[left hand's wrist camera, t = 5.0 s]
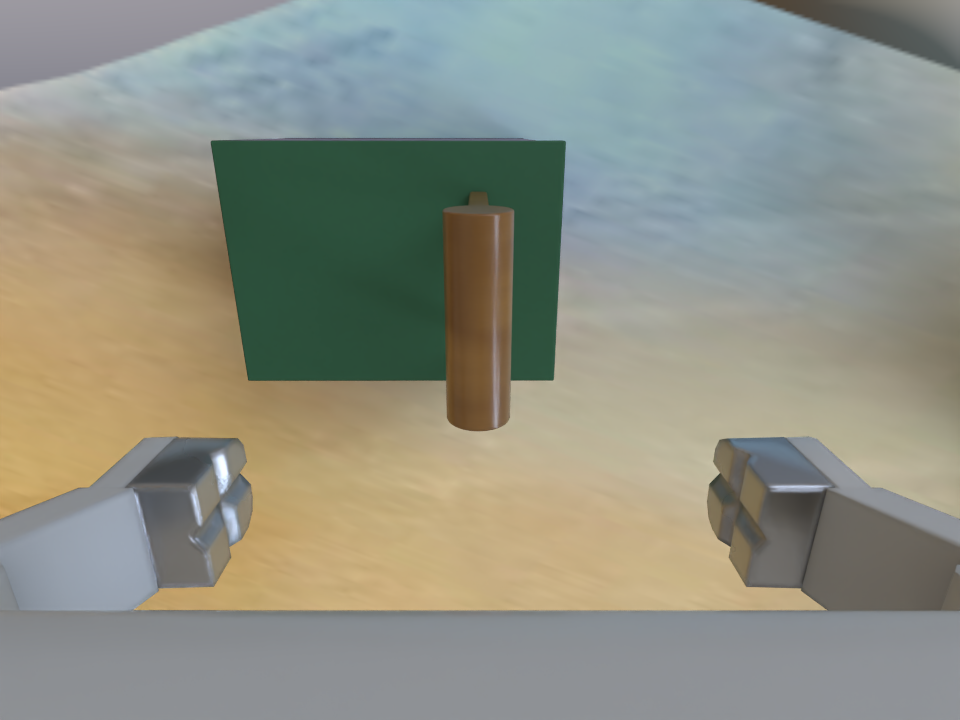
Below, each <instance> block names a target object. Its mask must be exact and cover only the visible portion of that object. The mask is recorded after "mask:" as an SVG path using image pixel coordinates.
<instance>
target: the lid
mask: <svg viewBox="0 0 960 720" xmlns="http://www.w3.org/2000/svg"><path fill="white" fill-rule="evenodd" d="M211 147H212V153H213V160H214V166H215V172H216V179H217V185H218V191H219V198H220V204H221V210H222V217H223V223H224V229H225V236H226V242H227V248H228V255H229V261H230V267H231V274H232V280H233V287H234V293H235V299H236V306H237V312H238V318H239V325H240V331H241V337H242V344H243V350H244V356H245V363H246V369H247V375H248V380H249V381H388V380H446V395H447V419H448V421H449V422H450V423H451V424H452V425H454V426H455V427H458V428H460V429H464V430H469V431H488V430H493V429H496V428H499V427H501V426H503V425H505V424H506V423H507V422H508V420H509V418H510V387H511V380H554V364H555V344H556V325H557V305H558V285H559V266H560V246H561V227H562V207H563V187H564V168H565V148H566V142H565V141H324V140H219V141H211Z"/></svg>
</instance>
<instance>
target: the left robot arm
mask: <svg viewBox="0 0 960 720" xmlns="http://www.w3.org/2000/svg"><path fill="white" fill-rule="evenodd" d="M246 462H247V460H246V455H245V450H244V445H243V444H242V443H241V441H240V440H239V439H238V438H188V437H181V438H179V437H152V438H144V439H143V440H142V441H141V442H139V443H138V444H137V445H136V446H135V447H134V448H133V449H132V450H131V451H129V452H128V453H127V454H126V455H125V456H124V457H123V458H122V459H120V460H119V461H118V462H117V463H116V464H115V465H114V466H113V467H111V468H110V469H109V470H108V471H107V472H106V473H105V474H104V475H103V476H101V477H100V478H99V479H98V480H97V481H96V482H95V483H94V484H92V485H91V486H90V487H89V488H77V489H75V490H72V491H70V492H67V493H65V494H62V495H60V496H57V497H55V498H52V499H50V500H47V501H45V502H42V503H40V504H37V505H35V506H32V507H30V508H27V509H24V510H22V511H19V512H17V513H14V514H12V515H9V516H7V517H4V518H2V519H0V720H960V519H958V518H955V517H953V516H950V515H948V514H945V513H943V512H940V511H938V510H935V509H933V508H930V507H928V506H925V505H923V504H920V503H918V502H915V501H913V500H910V499H908V498H905V497H903V496H900V495H898V494H895V493H893V492H890V491H888V490H885V489H883V488H871V487H870V486H869V485H868V484H866V483H865V482H864V481H863V480H862V479H861V478H860V477H859V476H858V475H856V474H855V473H854V472H853V471H852V470H851V469H850V468H849V467H847V466H846V465H845V464H844V463H843V462H842V461H841V460H840V459H839V458H837V457H836V456H835V455H834V454H833V453H832V452H831V451H830V450H829V449H827V448H826V447H825V446H824V445H823V444H822V443H821V442H820V441H818V440H817V439H815V438H812V437H788V438H784V437H772V438H730V439H722V440H719V442H718V444H717V446H716V449H715V454H714V460H713V462H714V464H715V466H716V467H717V469H718V470H719V472H720V474H719V475H718V476H717V477H716V478H715V479H714V480H713V481H712V482H711V483H710V484H709V490H708V498H707V506H708V517H709V520H710V523H711V527H712V529H713V531H714V533H715V535H716V536H717V538H718V539H719V540H720V541H722V542H724V543H725V544H727V545H728V546H730V547H731V548H730V553H729V559H730V560H731V562H732V564H733V565H734V567H735V569H736V570H737V572H738V574H739V575H740V577H741V579H742V580H743V582H744V584H745V585H746V587H774V588H802V589H801V591H802V592H804V593H805V594H806V595H808V596H809V597H810V598H812V599H813V600H814V601H816V602H817V603H819V604H820V605H821V606H823V607H824V608H825V609H827V610H828V611H631V610H630V611H629V610H628V611H627V610H626V611H625V610H624V611H621V610H620V611H619V610H618V611H617V610H134V609H135V608H136V607H138V606H139V605H140V604H142V603H143V602H144V601H146V600H147V599H148V598H150V597H151V596H152V595H154V594H155V593H157V592H158V591H159V589H158V588H185V587H214V586H215V584H216V582H217V581H218V579H219V577H220V575H221V574H222V572H223V570H224V569H225V567H226V565H227V564H228V562H229V560H230V559H231V553H230V548H229V547H230V546H232V545H233V544H235V543H236V542H238V541H240V540H241V539H242V538H243V536H244V535H245V533H246V531H247V529H248V527H249V523H250V519H251V515H252V509H253V496H252V490H251V484H250V483H249V482H248V481H247V480H246V479H245V478H244V477H243V476H242V475H241V474H240V472H241V470H242V469H243V467H244V466H245V464H246Z"/></svg>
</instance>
